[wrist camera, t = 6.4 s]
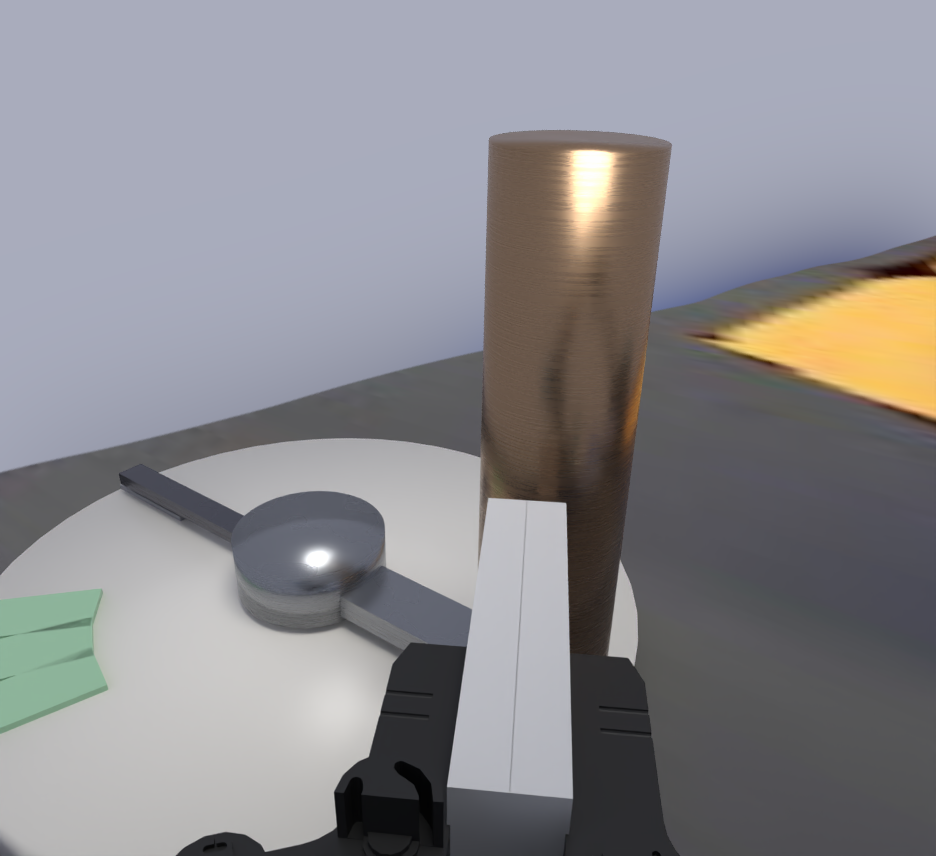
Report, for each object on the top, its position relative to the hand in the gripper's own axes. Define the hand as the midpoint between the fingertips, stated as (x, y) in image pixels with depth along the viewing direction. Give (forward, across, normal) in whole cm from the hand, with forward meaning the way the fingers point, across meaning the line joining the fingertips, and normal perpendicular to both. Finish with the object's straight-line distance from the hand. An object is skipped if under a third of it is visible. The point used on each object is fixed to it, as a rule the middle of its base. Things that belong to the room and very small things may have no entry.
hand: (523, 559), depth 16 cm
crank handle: (+8, -7, -8) cm, 13 cm away
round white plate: (+9, -7, -10) cm, 15 cm away
